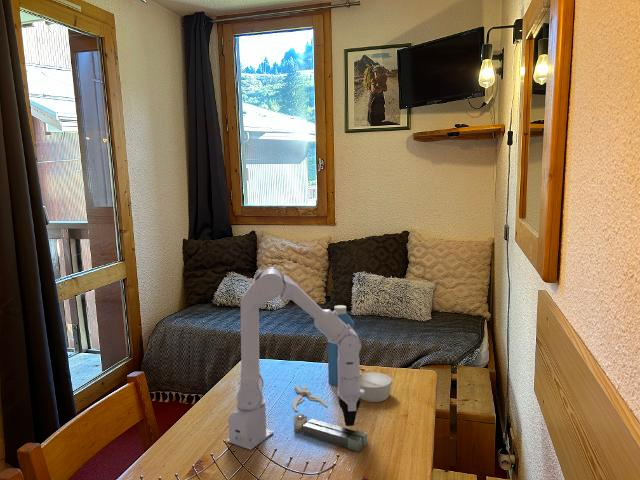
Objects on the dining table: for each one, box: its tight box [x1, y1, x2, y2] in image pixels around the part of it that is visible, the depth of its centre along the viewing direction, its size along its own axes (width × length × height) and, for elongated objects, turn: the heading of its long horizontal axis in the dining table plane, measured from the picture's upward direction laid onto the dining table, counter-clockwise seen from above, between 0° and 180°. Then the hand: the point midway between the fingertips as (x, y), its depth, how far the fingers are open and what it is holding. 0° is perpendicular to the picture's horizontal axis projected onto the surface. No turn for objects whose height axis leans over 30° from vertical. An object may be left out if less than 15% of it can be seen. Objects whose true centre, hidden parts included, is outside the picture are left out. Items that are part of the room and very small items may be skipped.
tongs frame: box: [293, 413, 364, 453], centre depth 122 cm, size 4×20×4 cm, turn 58°
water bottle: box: [327, 304, 355, 387], centre depth 156 cm, size 9×9×25 cm
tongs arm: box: [307, 418, 368, 448], centre depth 122 cm, size 2×16×3 cm, turn 58°
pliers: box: [292, 384, 328, 413], centre depth 145 cm, size 10×2×15 cm
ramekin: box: [359, 372, 393, 403], centre depth 146 cm, size 11×11×5 cm
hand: (349, 424), depth 126 cm, fingers closed
